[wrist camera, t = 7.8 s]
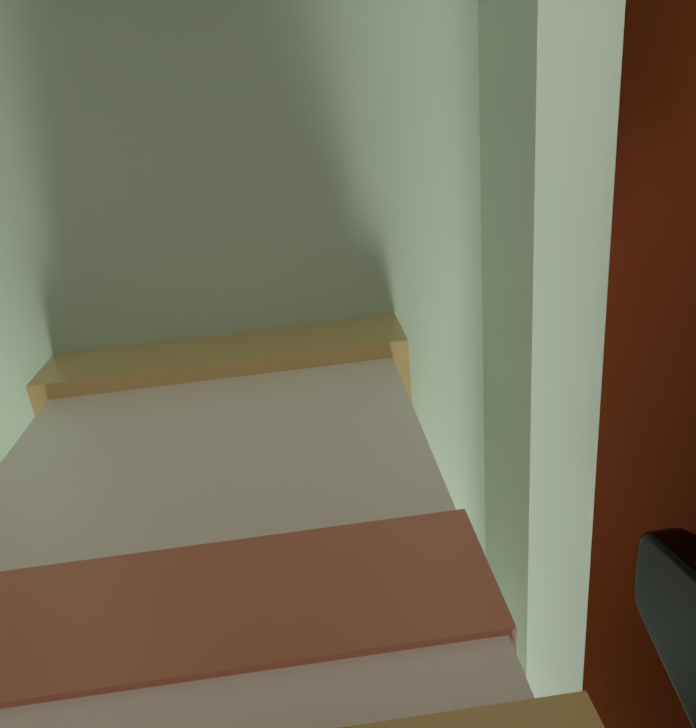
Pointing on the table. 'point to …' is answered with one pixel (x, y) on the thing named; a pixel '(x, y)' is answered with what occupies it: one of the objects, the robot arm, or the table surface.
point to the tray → (340, 225)
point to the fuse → (248, 547)
